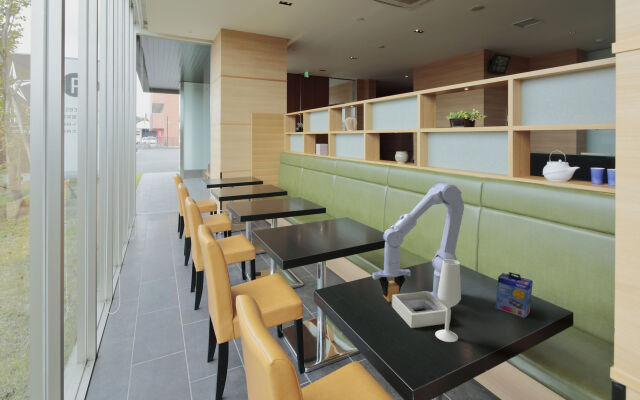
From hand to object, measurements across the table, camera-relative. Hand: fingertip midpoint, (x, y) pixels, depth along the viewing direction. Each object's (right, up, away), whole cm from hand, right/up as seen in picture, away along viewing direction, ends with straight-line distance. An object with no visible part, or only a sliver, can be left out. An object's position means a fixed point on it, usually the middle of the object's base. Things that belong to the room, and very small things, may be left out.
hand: (390, 294), depth 131 cm
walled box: (+8, -4, -11) cm, 14 cm away
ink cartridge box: (+41, -3, -9) cm, 42 cm away
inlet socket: (+8, -4, -11) cm, 14 cm away
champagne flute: (+12, -6, -24) cm, 28 cm away
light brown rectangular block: (0, -1, 0) cm, 1 cm away
